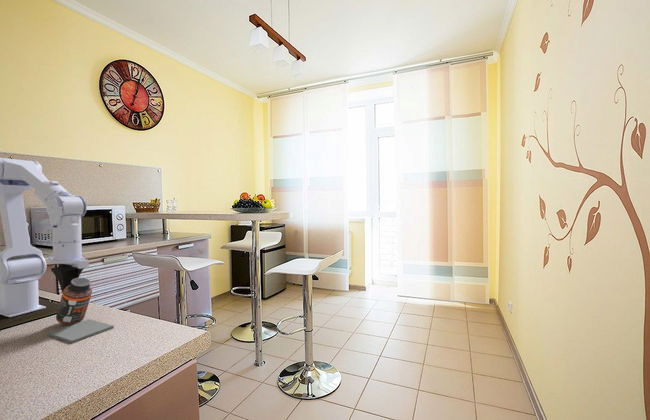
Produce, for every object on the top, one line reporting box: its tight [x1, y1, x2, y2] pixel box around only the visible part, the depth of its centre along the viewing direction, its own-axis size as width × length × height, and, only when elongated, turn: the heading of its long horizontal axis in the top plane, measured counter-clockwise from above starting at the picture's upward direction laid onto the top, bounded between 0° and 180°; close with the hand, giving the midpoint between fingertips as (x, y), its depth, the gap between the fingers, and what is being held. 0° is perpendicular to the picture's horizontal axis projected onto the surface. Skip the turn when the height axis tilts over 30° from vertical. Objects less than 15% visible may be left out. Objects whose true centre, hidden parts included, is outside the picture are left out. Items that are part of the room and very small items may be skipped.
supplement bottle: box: [55, 277, 93, 326], centre depth 78 cm, size 6×6×11 cm
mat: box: [47, 319, 115, 344], centre depth 73 cm, size 10×9×1 cm
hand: (68, 292), depth 79 cm, fingers closed
